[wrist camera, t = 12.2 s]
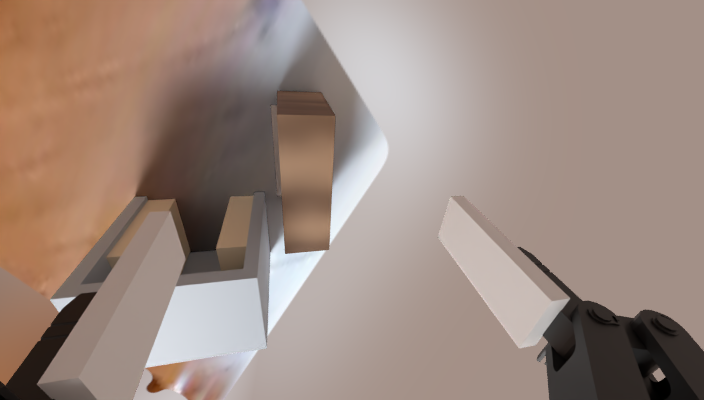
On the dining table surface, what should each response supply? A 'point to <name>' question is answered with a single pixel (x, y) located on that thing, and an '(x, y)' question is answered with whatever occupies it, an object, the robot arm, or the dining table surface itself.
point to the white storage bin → (196, 281)
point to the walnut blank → (305, 169)
